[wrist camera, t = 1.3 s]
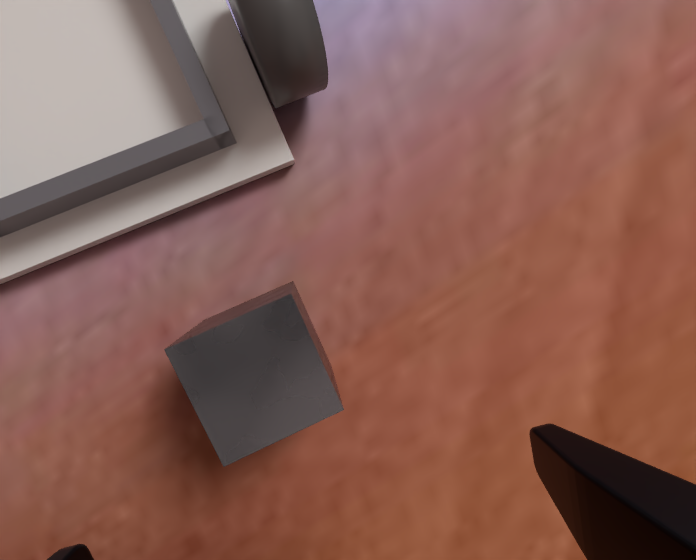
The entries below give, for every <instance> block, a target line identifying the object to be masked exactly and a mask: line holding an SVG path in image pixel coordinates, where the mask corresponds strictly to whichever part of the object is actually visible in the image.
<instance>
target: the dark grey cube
mask: <svg viewBox="0 0 696 560" xmlns="http://www.w3.org/2000/svg"><path fill="white" fill-rule="evenodd" d="M164 350H165V352H166V354H167V356H168V358H169V360H170V362H171V364H172V366H173V368H174V370H175V372H176V374H177V376H178V378H179V380H180V382H181V384H182V386H183V388H184V389H185V391H186V393H187V395H188V397H189V399H190V401H191V403H192V405H193V407H194V409H195V411H196V413H197V415H198V417H199V419H200V421H201V423H202V425H203V427H204V429H205V431H206V433H207V435H208V437H209V439H210V441H211V443H212V445H213V447H214V449H215V451H216V453H217V455H218V457H219V459H220V461H221V463H222V465H223V467H224V466H227V465H229V464H231V463H233V462H235V461H237V460H239V459H241V458H243V457H245V456H248V455H250V454H252V453H254V452H256V451H258V450H260V449H262V448H264V447H267V446H269V445H271V444H273V443H275V442H277V441H279V440H281V439H283V438H285V437H288V436H290V435H292V434H294V433H296V432H298V431H300V430H302V429H304V428H306V427H309V426H311V425H313V424H315V423H317V422H319V421H321V420H323V419H325V418H327V417H330V416H332V415H334V414H336V413H338V412H340V411H342V410H344V408H343V405H342V401H341V398H340V395H339V391H338V388H337V384H336V381H335V377H334V374H333V370H332V367H331V364H330V362H329V360H328V357H327V355H326V353H325V351H324V348H323V346H322V344H321V342H320V340H319V337H318V335H317V333H316V331H315V328H314V326H313V324H312V322H311V320H310V317H309V315H308V313H307V311H306V308H305V306H304V304H303V302H302V300H301V297H300V295H299V293H298V291H297V288H296V286H295V284H294V282H293V281H292V282H290V283H288V284H285V285H283V286H281V287H278V288H276V289H274V290H272V291H269V292H267V293H265V294H262V295H260V296H258V297H256V298H253V299H251V300H249V301H247V302H244V303H242V304H240V305H237V306H235V307H233V308H231V309H228V310H226V311H224V312H221V313H219V314H217V315H215V316H212V317H210V318H208V319H205V320H203V321H202V322H201V323H199V324H198V325H197V326H195V327H194V328H193V329H191V330H190V331H189V332H187V333H186V334H184V335H183V336H182V337H180V338H179V339H178V340H176V341H175V342H174V343H172V344H171V345H170V346H168V347H167V348H166V349H164Z"/></svg>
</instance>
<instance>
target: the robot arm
mask: <svg viewBox="0 0 696 560" xmlns="http://www.w3.org/2000/svg"><path fill="white" fill-rule="evenodd" d="M530 441H531V447H532V453H533V459H534V465H535V468H536V471H537V473H538V475H539V477H540V479H541V481H542V482H543V484H544V486H545V488H546V489H547V491H548V493H549V495H550V496H551V498H552V500H553V502H554V503H555V505H556V507H557V508H558V510H559V512H560V514H561V515H562V517H563V519H564V521H565V522H566V524H567V526H568V528H569V529H570V531H571V533H572V535H573V536H574V538H575V540H576V542H577V543H578V545H579V547H580V548H581V550H582V552H583V553H584V555H585V557H586V558H587V560H696V484H693V483H691V482H689V481H686V480H684V479H682V478H679V477H677V476H674V475H672V474H670V473H667V472H665V471H663V470H660V469H658V468H656V467H653V466H651V465H648V464H646V463H644V462H641V461H639V460H637V459H634V458H632V457H630V456H627V455H625V454H622V453H620V452H618V451H615V450H613V449H611V448H608V447H606V446H604V445H601V444H599V443H597V442H594V441H592V440H589V439H587V438H585V437H582V436H580V435H578V434H575V433H573V432H571V431H568V430H566V429H563V428H561V427H559V426H556V425H554V424H544V425H540V426H537V427H533V428H532V429H531V430H530ZM47 560H94V559H93V557H92V555H91V553H90V551H89V549H88V548H87V546H85V545H83V544H77V545H73V546H70V547H66V548H63V549H60V550H58V551H57V552H56V553H54V554H53V555H52V556H51V557H49V558H48V559H47Z"/></svg>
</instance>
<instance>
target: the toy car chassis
mask: <svg viewBox="0 0 696 560" xmlns="http://www.w3.org/2000/svg"><path fill="white" fill-rule="evenodd" d="M228 1H229V3H230V6H231V9H232V12H233V14H234V17H235V20H236V22H237V25H238V28H239V30H240V33H241V35H242V38H243V40H244V42H243V40H242V38H241V35H240V33H239V31H238V29H237V26H236V24H235V22H234V19H233V17H232V15H231V12H230V10H229V8H228V5H227V3H226V1H225V0H0V284H2V283H5V282H7V281H10V280H12V279H15V278H17V277H19V276H22V275H24V274H27V273H29V272H32V271H34V270H36V269H39V268H41V267H44V266H46V265H49V264H51V263H54V262H56V261H58V260H61V259H63V258H66V257H68V256H71V255H73V254H76V253H78V252H80V251H83V250H85V249H88V248H90V247H93V246H95V245H98V244H100V243H102V242H105V241H107V240H110V239H112V238H115V237H117V236H120V235H122V234H124V233H127V232H129V231H132V230H134V229H137V228H139V227H142V226H144V225H146V224H149V223H151V222H154V221H156V220H159V219H161V218H163V217H166V216H168V215H171V214H173V213H176V212H178V211H181V210H183V209H185V208H188V207H190V206H193V205H195V204H198V203H200V202H203V201H205V200H207V199H210V198H212V197H215V196H217V195H220V194H222V193H225V192H227V191H229V190H232V189H234V188H237V187H239V186H242V185H244V184H247V183H249V182H251V181H254V180H256V179H259V178H261V177H264V176H266V175H268V174H271V173H273V172H276V171H278V170H281V169H283V168H286V167H288V166H290V165H293V164H294V158H293V156H292V154H291V151H290V149H289V147H288V144H287V142H286V140H285V137H284V135H283V133H282V131H281V128H280V126H279V124H278V121H277V119H276V117H275V114H274V112H273V110H272V107H271V105H270V103H269V100H268V98H267V96H266V93H267V95H268V97H269V99H270V101H271V103H272V104H273V106H274V107H275V108H278V107H281V106H283V105H286V104H288V103H291V102H293V101H296V100H298V99H301V98H303V97H306V96H309V95H311V94H314V93H316V92H319V91H321V90H324V89H326V87H327V84H328V66H327V59H326V52H325V47H324V42H323V37H322V33H321V29H320V25H319V21H318V17H317V13H316V10H315V6H314V3H313V0H228ZM244 43H245V45H246V47H245V45H244ZM246 48H247V49H246ZM247 50H248V52H247ZM248 53H249V54H248ZM249 55H250V56H249ZM250 58H251V59H250ZM251 60H252V61H251ZM252 62H253V63H252ZM253 65H254V66H253ZM254 67H255V68H254ZM255 69H256V70H255ZM256 72H257V73H256ZM257 74H258V75H257ZM258 76H259V77H258ZM259 78H260V80H259ZM260 81H261V82H260ZM261 83H262V84H261ZM262 85H263V86H262ZM263 87H264V89H265V91H266V93H265V91H264V89H263Z"/></svg>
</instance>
